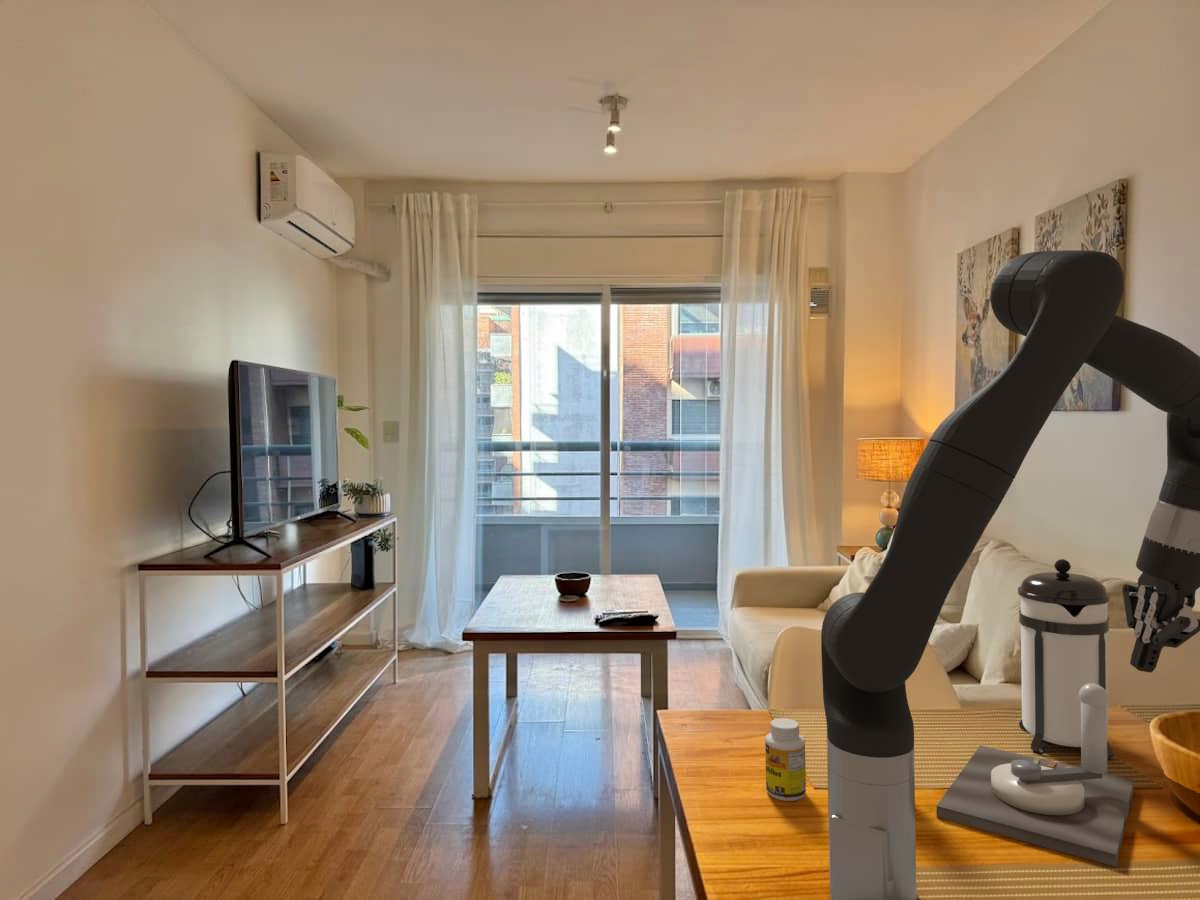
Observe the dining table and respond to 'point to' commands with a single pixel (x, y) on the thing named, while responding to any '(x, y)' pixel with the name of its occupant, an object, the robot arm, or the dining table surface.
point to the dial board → (1075, 834)
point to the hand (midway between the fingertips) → (1140, 668)
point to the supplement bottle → (785, 761)
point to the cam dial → (1061, 787)
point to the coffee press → (1061, 652)
